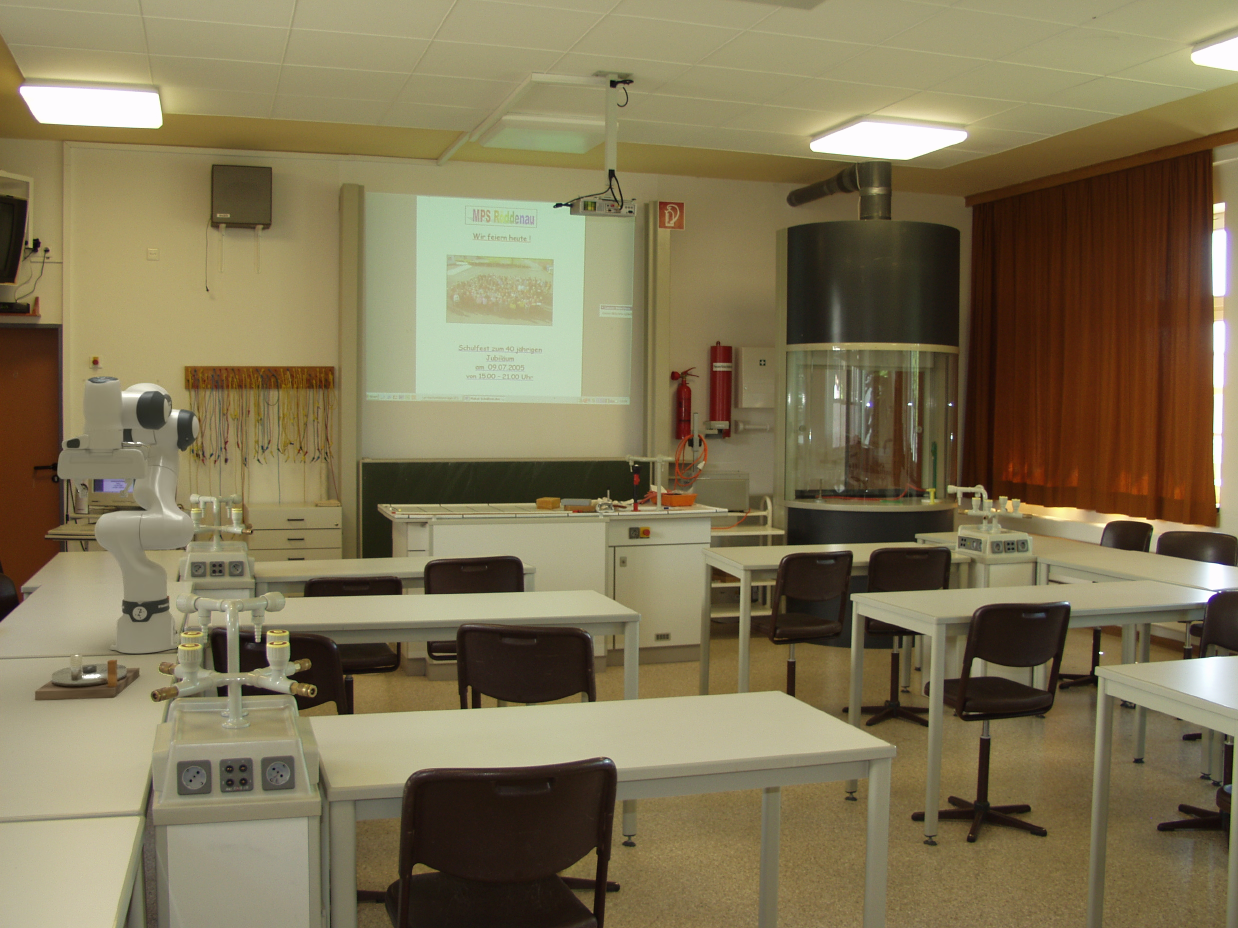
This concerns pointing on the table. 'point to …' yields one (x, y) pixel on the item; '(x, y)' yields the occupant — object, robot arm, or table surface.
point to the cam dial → (85, 673)
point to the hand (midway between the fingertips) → (103, 497)
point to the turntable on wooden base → (90, 691)
